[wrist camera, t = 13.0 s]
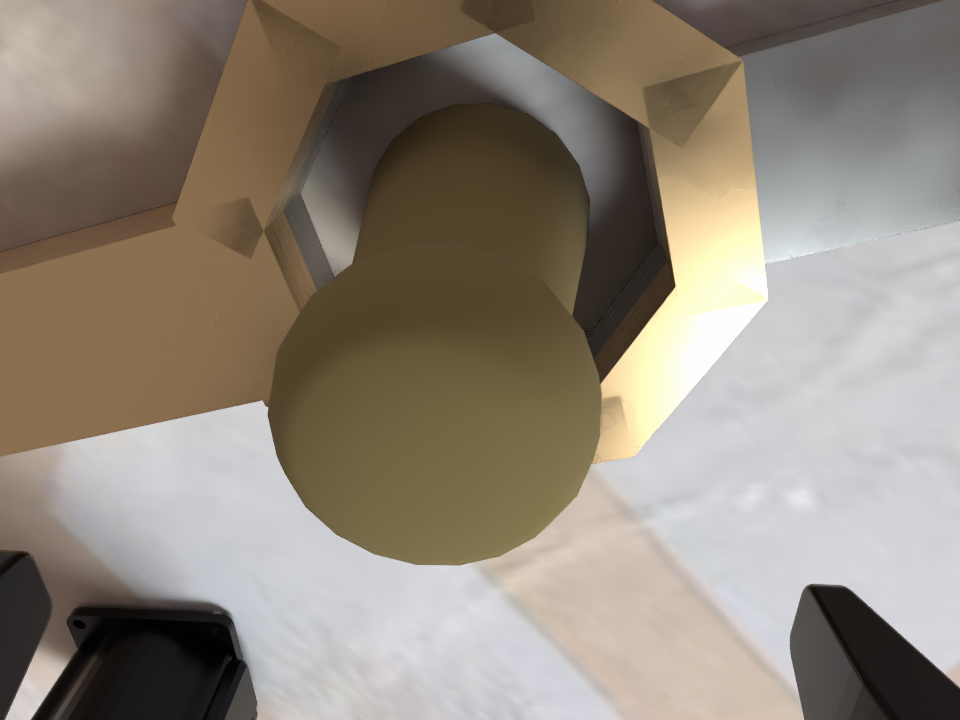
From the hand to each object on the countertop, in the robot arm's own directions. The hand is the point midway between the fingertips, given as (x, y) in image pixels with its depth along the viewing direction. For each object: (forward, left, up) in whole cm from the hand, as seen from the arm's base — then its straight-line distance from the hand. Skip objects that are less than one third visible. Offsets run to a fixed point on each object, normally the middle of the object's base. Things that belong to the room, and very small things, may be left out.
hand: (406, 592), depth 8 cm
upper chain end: (-6, -1, -13) cm, 14 cm away
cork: (0, 0, -13) cm, 13 cm away
